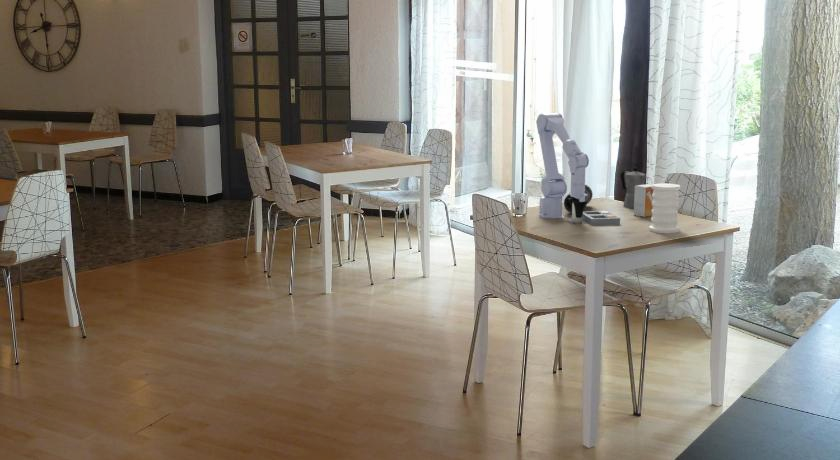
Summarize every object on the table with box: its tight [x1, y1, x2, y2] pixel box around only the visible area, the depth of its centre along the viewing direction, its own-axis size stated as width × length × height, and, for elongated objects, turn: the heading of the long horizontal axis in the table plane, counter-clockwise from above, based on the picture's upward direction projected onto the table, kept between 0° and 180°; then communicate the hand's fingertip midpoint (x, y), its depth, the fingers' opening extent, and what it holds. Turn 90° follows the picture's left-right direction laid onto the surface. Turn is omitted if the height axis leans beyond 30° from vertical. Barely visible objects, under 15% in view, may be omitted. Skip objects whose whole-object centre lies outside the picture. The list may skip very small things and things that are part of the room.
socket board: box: [582, 210, 621, 226], centre depth 388 cm, size 12×18×3 cm, turn 6°
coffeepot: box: [619, 166, 648, 209], centre depth 423 cm, size 15×9×18 cm, turn 33°
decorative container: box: [648, 182, 681, 234], centre depth 368 cm, size 12×12×18 cm
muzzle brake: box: [563, 184, 594, 214], centre depth 414 cm, size 10×28×10 cm, turn 163°
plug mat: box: [566, 220, 588, 225], centre depth 385 cm, size 7×7×1 cm
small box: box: [633, 183, 653, 218], centre depth 401 cm, size 8×6×13 cm
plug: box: [571, 203, 582, 223], centre depth 384 cm, size 4×4×8 cm
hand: (576, 216), depth 384 cm, fingers open, 5 cm apart
